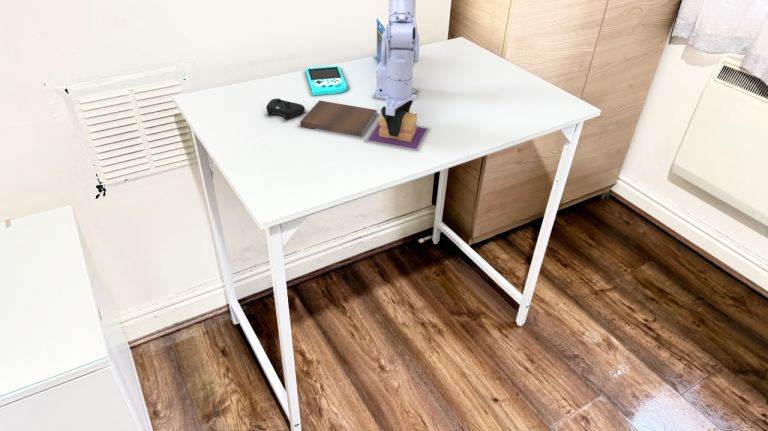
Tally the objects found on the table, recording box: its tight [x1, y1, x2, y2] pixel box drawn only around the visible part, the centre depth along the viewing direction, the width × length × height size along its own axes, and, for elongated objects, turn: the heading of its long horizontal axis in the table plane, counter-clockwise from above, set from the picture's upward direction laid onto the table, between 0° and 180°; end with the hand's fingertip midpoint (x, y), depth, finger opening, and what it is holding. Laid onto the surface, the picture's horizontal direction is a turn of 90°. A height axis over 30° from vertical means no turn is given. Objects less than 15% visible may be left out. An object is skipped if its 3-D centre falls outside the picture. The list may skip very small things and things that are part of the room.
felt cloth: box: [367, 123, 427, 150], centre depth 128 cm, size 12×10×1 cm
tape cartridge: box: [376, 18, 386, 62], centre depth 158 cm, size 9×4×12 cm, turn 17°
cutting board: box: [300, 100, 378, 138], centre depth 132 cm, size 16×12×2 cm
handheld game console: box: [305, 65, 348, 96], centre depth 150 cm, size 10×16×1 cm, turn 14°
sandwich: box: [378, 112, 418, 142], centre depth 126 cm, size 8×5×5 cm, turn 72°
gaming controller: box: [265, 98, 306, 121], centre depth 135 cm, size 10×5×6 cm
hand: (397, 128), depth 127 cm, fingers open, 6 cm apart
